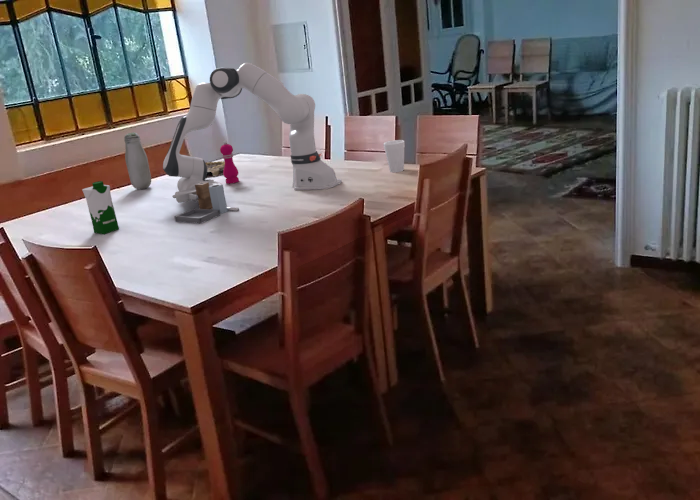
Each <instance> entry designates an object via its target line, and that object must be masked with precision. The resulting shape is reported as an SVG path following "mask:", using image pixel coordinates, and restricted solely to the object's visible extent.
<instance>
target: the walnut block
mask: <svg viewBox="0 0 700 500" xmlns="http://www.w3.org/2000/svg"><path fill="white" fill-rule="evenodd" d="M195 188H196V193H197V195H198V198H199V199H198V201H197V202H198V209H210V210H213V207H212V202H211V197H210V192H209V182H201V183H198V184H195Z"/></svg>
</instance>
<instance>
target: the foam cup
mask: <svg viewBox="0 0 700 500" xmlns="http://www.w3.org/2000/svg"><path fill="white" fill-rule="evenodd" d="M405 144H406V143H405V140H403V139H393V140H388V141H385V142H383V150H384V152H385V157H386V161H387V165H388V168H389V172H390V173H401V172H403V170H404V169H405V147H406V146H405ZM404 171H405V170H404Z"/></svg>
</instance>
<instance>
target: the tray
mask: <svg viewBox="0 0 700 500" xmlns="http://www.w3.org/2000/svg"><path fill="white" fill-rule="evenodd" d="M220 216H221V214H220V212H219V210H213V209H200V208H196V207H194V208H192V209H190V210H187V211H185V212H183V213H180V214H177V215H175V216H174V222H177V223H178V222H179V223H189V224H190V223H191V224H202V223H205V222H207V221H209V220H212V219H214V218H216V217H220Z"/></svg>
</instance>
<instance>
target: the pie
mask: <svg viewBox="0 0 700 500" xmlns="http://www.w3.org/2000/svg"><path fill="white" fill-rule="evenodd" d="M205 163H206V165H207V173H210V172H211V173H212V177H220V176H222V174H223V170H224V166H225V162H224V161H222V160H218V161H208V162H206V161H205ZM207 177H208V176H206V178H207Z"/></svg>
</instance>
